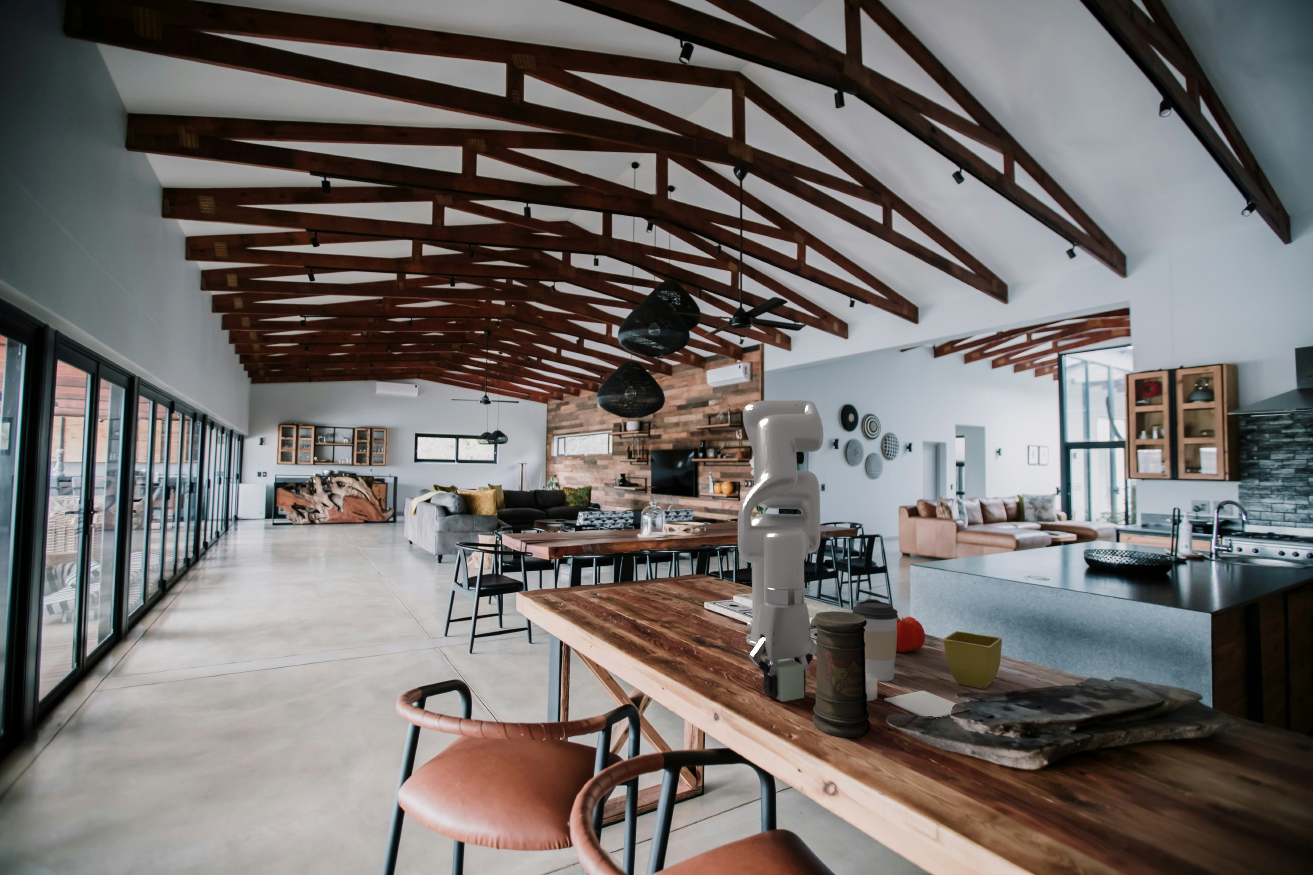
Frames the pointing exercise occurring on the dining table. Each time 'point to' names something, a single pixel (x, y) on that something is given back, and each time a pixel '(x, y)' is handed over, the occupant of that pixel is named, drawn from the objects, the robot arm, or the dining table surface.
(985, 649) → the flower pot
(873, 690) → the white rounded upright piece
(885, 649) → the coffee cup
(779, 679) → the sage block
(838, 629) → the container
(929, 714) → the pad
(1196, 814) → the dining table surface
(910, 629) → the tomato
